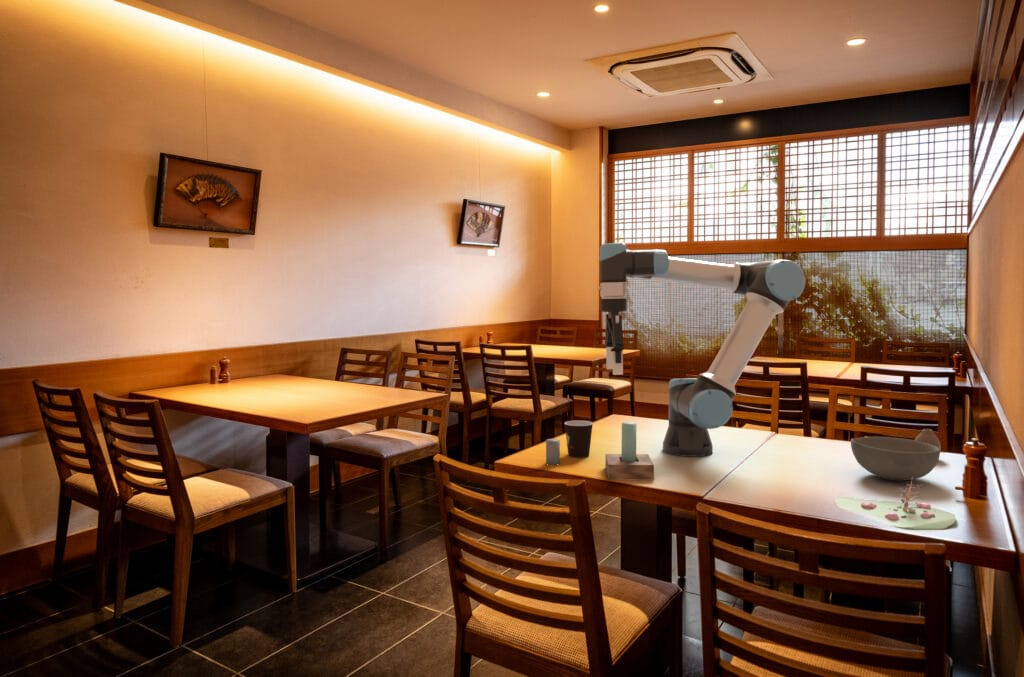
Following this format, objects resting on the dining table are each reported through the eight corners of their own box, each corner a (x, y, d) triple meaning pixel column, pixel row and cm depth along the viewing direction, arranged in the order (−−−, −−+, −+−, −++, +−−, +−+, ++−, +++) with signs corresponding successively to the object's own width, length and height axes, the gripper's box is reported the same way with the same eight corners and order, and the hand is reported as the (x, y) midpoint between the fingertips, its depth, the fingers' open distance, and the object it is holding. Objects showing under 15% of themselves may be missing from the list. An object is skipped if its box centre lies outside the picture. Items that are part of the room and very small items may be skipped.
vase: (938, 457, 200) (939, 428, 200) (942, 462, 194) (943, 432, 194) (911, 455, 203) (912, 426, 203) (914, 460, 197) (915, 430, 196)
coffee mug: (591, 459, 202) (591, 426, 202) (562, 458, 204) (562, 425, 203) (594, 450, 214) (594, 419, 213) (567, 449, 215) (567, 418, 215)
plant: (818, 514, 152) (819, 475, 152) (842, 493, 168) (843, 457, 167) (948, 540, 136) (950, 496, 136) (961, 513, 152) (963, 474, 152)
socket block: (647, 468, 192) (648, 454, 191) (653, 479, 180) (653, 465, 179) (605, 467, 192) (605, 453, 192) (608, 479, 180) (608, 464, 180)
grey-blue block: (559, 462, 199) (559, 438, 199) (559, 465, 195) (559, 441, 195) (546, 462, 200) (546, 438, 199) (546, 465, 196) (545, 441, 195)
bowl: (939, 494, 164) (940, 454, 164) (846, 482, 175) (847, 444, 174) (938, 475, 181) (939, 438, 181) (853, 465, 192) (854, 430, 191)
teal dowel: (635, 471, 188) (635, 422, 187) (636, 475, 184) (637, 425, 183) (620, 471, 188) (621, 422, 187) (622, 475, 184) (622, 424, 183)
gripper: (595, 297, 205) (596, 367, 206) (605, 298, 180) (607, 377, 181) (620, 297, 205) (620, 366, 206) (634, 298, 180) (635, 377, 181)
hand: (614, 371), depth 194 cm, fingers open, 13 cm apart
